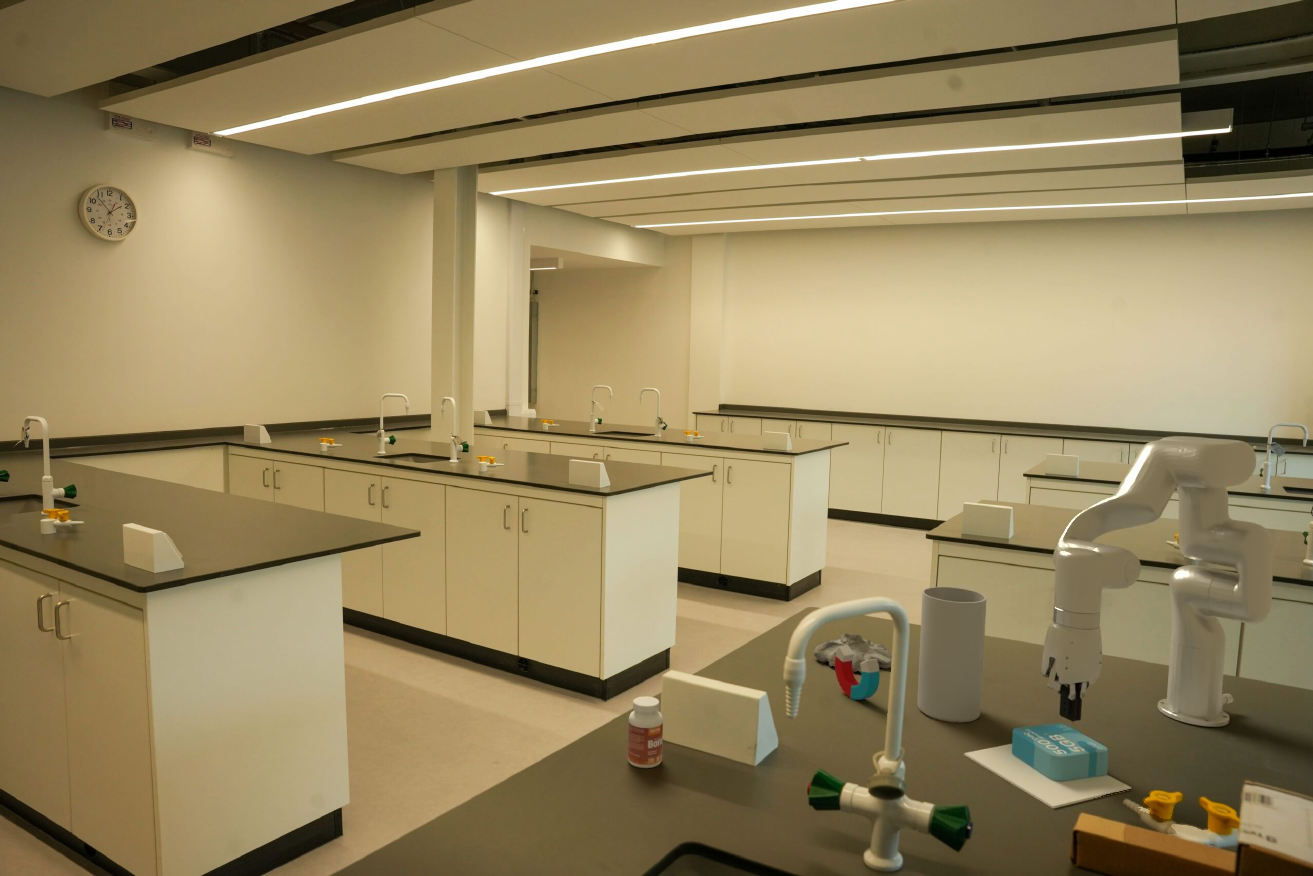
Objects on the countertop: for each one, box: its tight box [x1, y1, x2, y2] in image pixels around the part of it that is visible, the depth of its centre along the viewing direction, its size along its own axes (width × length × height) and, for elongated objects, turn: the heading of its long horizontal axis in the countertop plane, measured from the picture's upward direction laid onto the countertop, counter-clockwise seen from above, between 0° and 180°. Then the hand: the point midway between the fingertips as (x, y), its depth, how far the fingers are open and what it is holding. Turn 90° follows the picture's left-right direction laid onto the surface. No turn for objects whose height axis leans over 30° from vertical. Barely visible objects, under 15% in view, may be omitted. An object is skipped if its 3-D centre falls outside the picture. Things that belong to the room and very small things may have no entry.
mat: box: [963, 743, 1132, 810], centre depth 146 cm, size 18×20×1 cm
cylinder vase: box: [916, 586, 987, 724], centre depth 171 cm, size 12×12×25 cm
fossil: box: [813, 633, 893, 674], centre depth 202 cm, size 18×11×15 cm
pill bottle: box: [627, 695, 664, 769], centre depth 147 cm, size 6×6×11 cm
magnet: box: [834, 645, 881, 701], centre depth 178 cm, size 12×3×10 cm, turn 26°
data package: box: [1011, 723, 1109, 781], centre depth 149 cm, size 12×4×12 cm
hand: (1069, 717), depth 148 cm, fingers closed
